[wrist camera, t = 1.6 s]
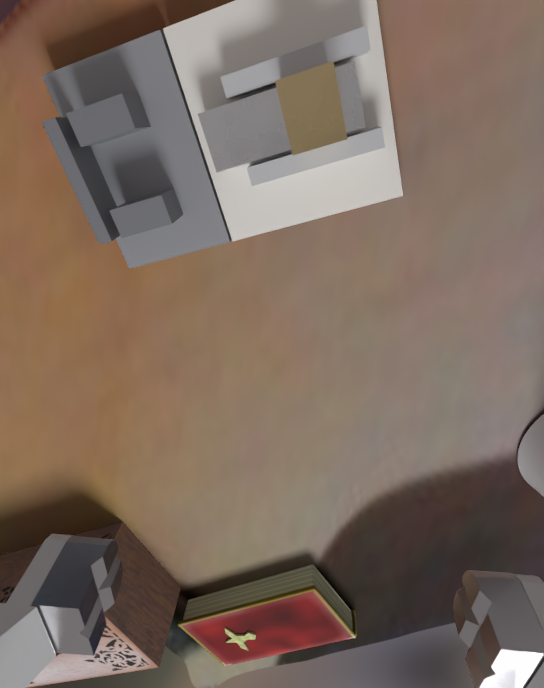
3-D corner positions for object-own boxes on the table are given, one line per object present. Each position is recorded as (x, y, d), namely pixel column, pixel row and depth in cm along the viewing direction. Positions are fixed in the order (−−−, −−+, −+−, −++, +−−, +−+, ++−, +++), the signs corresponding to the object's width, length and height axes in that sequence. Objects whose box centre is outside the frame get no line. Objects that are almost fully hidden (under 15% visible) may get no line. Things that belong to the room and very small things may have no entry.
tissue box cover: (42, 615, 67) (2, 691, 58) (-22, 560, 61) (-78, 635, 52) (181, 585, 60) (159, 667, 51) (123, 520, 54) (87, 599, 45)
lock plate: (365, -41, 26) (376, -72, 22) (398, 191, 32) (411, 204, 28) (57, 77, 30) (14, 71, 26) (138, 261, 37) (114, 281, 32)
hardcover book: (354, 608, 59) (357, 641, 56) (230, 638, 66) (225, 669, 62) (314, 558, 55) (314, 590, 51) (185, 595, 61) (176, 626, 58)
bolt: (352, 64, 27) (364, 50, 21) (362, 126, 28) (376, 130, 22) (204, 113, 29) (175, 114, 23) (222, 168, 30) (199, 183, 24)
